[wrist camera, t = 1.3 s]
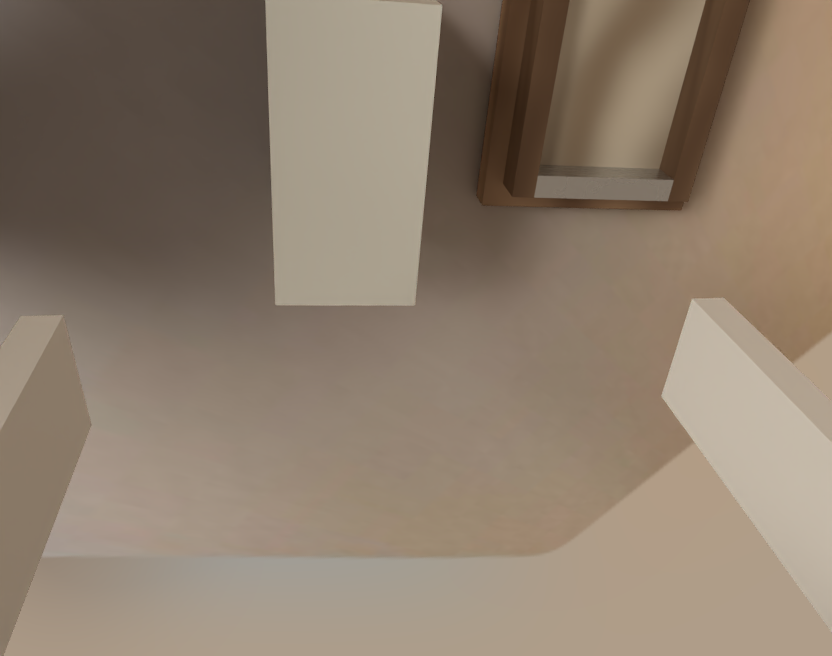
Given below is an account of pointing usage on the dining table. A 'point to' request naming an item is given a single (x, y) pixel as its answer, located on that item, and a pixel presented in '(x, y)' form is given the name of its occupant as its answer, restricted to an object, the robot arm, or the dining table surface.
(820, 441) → the robot arm
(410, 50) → the white lidded box
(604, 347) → the dining table surface
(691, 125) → the tray
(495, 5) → the dining table surface
